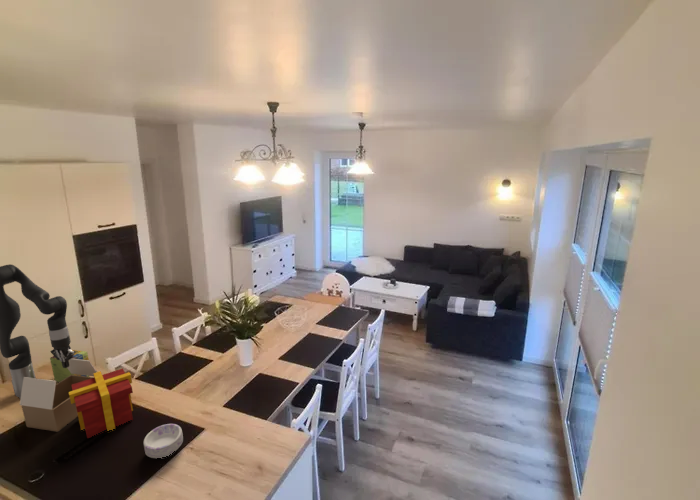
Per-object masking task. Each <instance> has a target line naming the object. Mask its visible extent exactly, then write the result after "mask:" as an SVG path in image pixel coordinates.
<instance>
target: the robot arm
mask: <svg viewBox="0 0 700 500" xmlns="http://www.w3.org/2000/svg"><path fill="white" fill-rule="evenodd" d="M15 282H16V283H18V284H20V286H21V287H20V289H21V293H22V295H23V297H24V298H25V299H27V300H29V301H30V302H32V303H33V304H34V305H35V306H36V307H37V309H38V310H39V312H40V313H41V314H43V315H46V316H47V315H48V316H49V315H51V314H53V315H51V316H50V317H48V318H47V321H46V322H47V328H48V336H49V339H50V340H49V341H50V344H51V347H52V350H50V353H51V355H52V356H54V357H55V358H56V359H57V360H60V361H61V363H62V366H63V368H67V367H69V360H70V359H72V357H73V355H74V354H75V351H72V350H73V349H72V348H71V346H70V343H71V342H72V341H71V337H70V331H69V329H68V325H67V320H66V316H67V308H68V303H67V300H66V299H65V297H63V296H59V295H58V296H54V297H52V298H51V297H50V296H51V295H50V293H49V292H48V291H47V290H44V289H43V288H41V287H40V286H38V285H37V284H36V283H35V282H33V281H32V280H31V279H30V278H29V277H28V276H27V274H25V273H24V272H23V271H22V270H21V269H20V268H19V267H17V266H16V265H14V264H5V265H0V354H1V355H2V357H3V358H4V359H10V358H13V357H15V356H16V357H15V358H13V359H12V360H10V361H9V363H8V369H9V372H10V373H9V374H10V377H11V385H12V388H13V391H14V395H15V397H16V396H17V397H19V398H18V399H21V392H22V385H23V378H24V377H29V378H36V373H35V370H34V366H33V360H32V354H31V350H30V343H29V341H28V338H27V337H26V336H24V335H18V336H16V337H14V338H11V336H12V334H13V332H14V329H15V328H16V326H17V325H18V324H19V322H20V319H21V314H22V313H21V309H20V304H19V302H17V300H15V299H14V298H12V297H11V296H9V295H8V294H7V293H6V291H5V287H4V286H5V285H9V284H12V283H15ZM57 355H58V356H57ZM17 397H16V398H17Z"/></svg>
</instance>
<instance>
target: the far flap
mask: <svg viewBox="0 0 700 500" xmlns="http://www.w3.org/2000/svg"><path fill="white" fill-rule="evenodd" d="M67 368H68V370H69V371H70V372H71V374H78V375H87V376H89V377H94V374H93V373H96V372H98V371H97V369H96V368H95V366H94V365H93V363H92V362H91V360H90V359H89V360H81V359H70V360H69V367H67Z"/></svg>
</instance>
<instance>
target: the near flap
mask: <svg viewBox="0 0 700 500" xmlns="http://www.w3.org/2000/svg"><path fill="white" fill-rule="evenodd" d="M56 384H57V382H56V381H55V380H52V379H51V380H50V379H44V378H29V377H24V378H23V385H22V392H21V398H19V400H20V401H19V406H21V405H23V406H30V407H37V408H44V409H52V408H53V401H54V393H55V386H56Z"/></svg>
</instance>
